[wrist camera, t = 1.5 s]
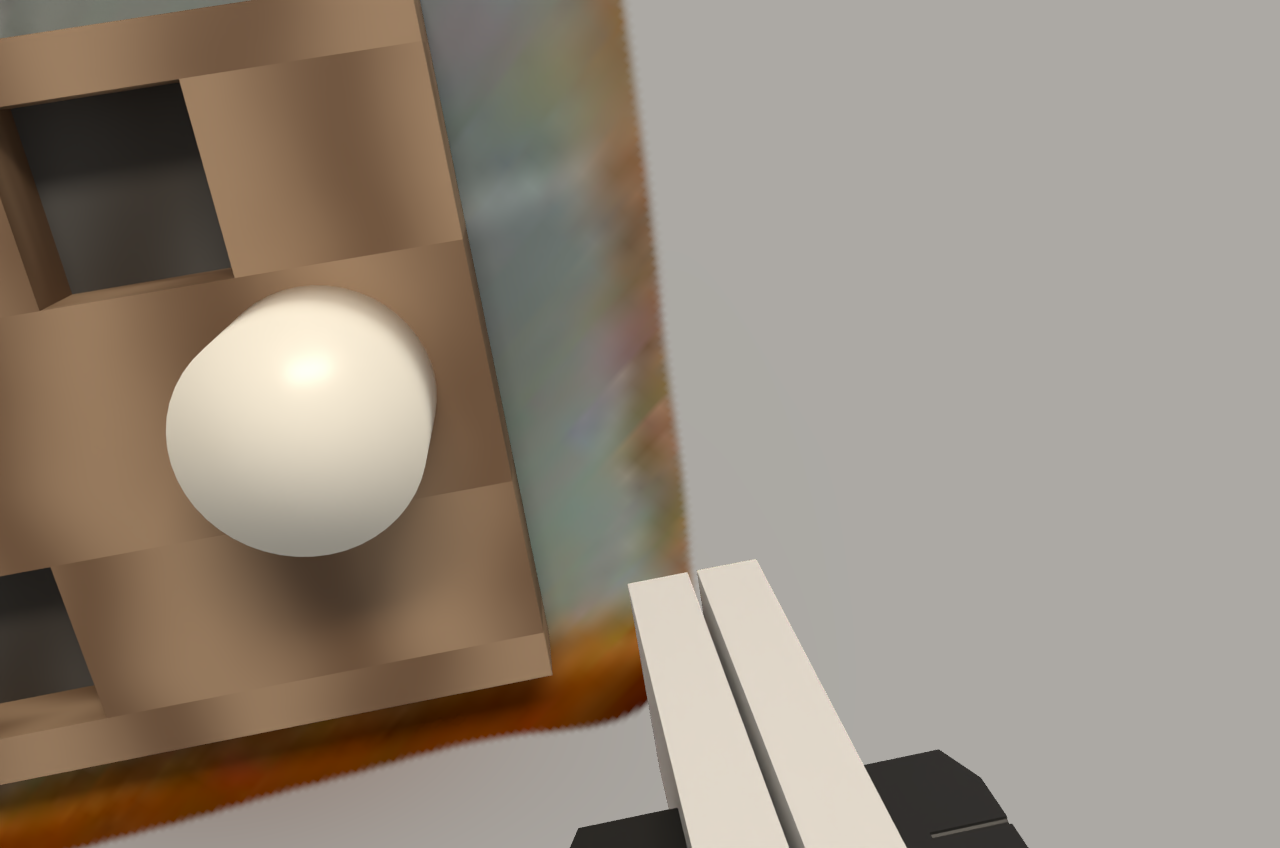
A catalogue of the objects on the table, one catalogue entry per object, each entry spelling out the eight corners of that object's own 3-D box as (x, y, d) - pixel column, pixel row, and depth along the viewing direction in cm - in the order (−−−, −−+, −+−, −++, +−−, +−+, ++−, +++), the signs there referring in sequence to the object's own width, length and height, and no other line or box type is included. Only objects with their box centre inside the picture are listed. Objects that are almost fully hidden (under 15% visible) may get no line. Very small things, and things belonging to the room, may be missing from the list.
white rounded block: (244, 513, 30) (206, 577, 26) (182, 306, 28) (132, 343, 24) (457, 474, 30) (450, 531, 26) (410, 267, 28) (396, 297, 24)
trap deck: (-206, 782, 33) (-338, 913, 28) (-533, 130, 27) (-783, 142, 21) (549, 634, 35) (557, 732, 30) (416, -16, 28) (397, -36, 23)
